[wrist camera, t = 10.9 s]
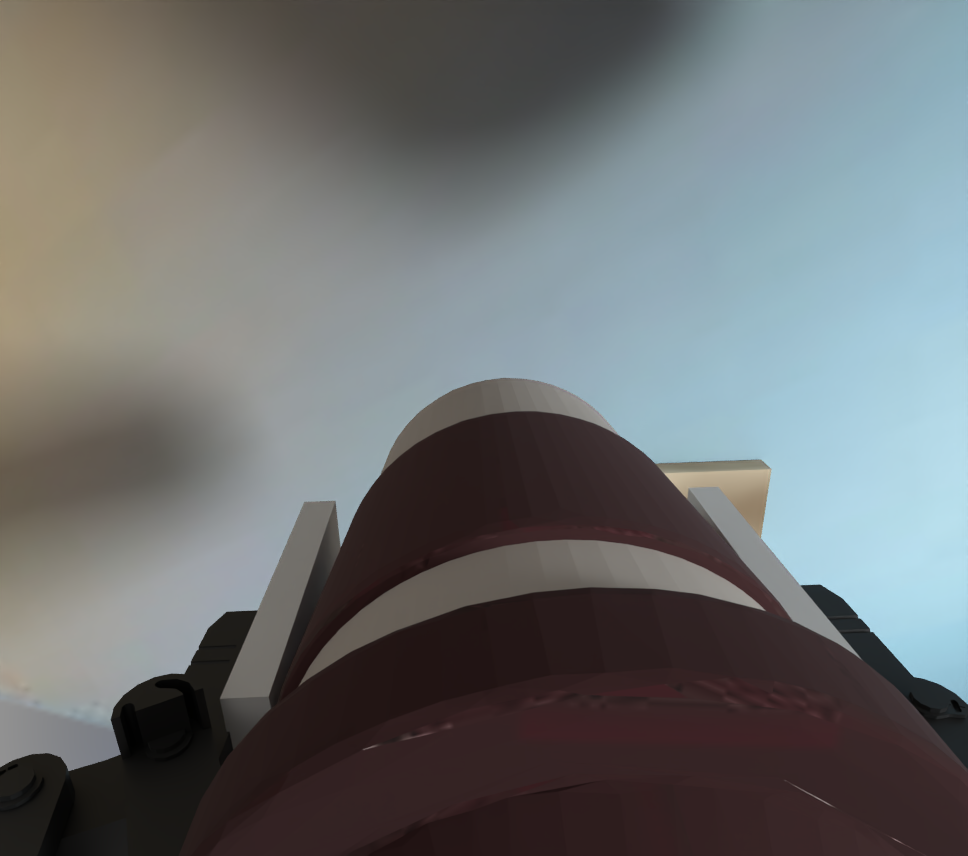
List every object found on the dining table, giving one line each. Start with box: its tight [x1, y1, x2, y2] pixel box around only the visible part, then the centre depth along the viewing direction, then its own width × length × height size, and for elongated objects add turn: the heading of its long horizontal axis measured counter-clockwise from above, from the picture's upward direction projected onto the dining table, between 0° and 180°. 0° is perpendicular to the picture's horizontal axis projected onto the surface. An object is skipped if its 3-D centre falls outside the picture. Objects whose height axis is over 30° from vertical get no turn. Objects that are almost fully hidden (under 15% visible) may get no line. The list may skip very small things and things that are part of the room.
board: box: [656, 460, 771, 538], centre depth 38 cm, size 18×16×1 cm
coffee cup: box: [179, 378, 968, 856], centre depth 13 cm, size 10×10×15 cm
